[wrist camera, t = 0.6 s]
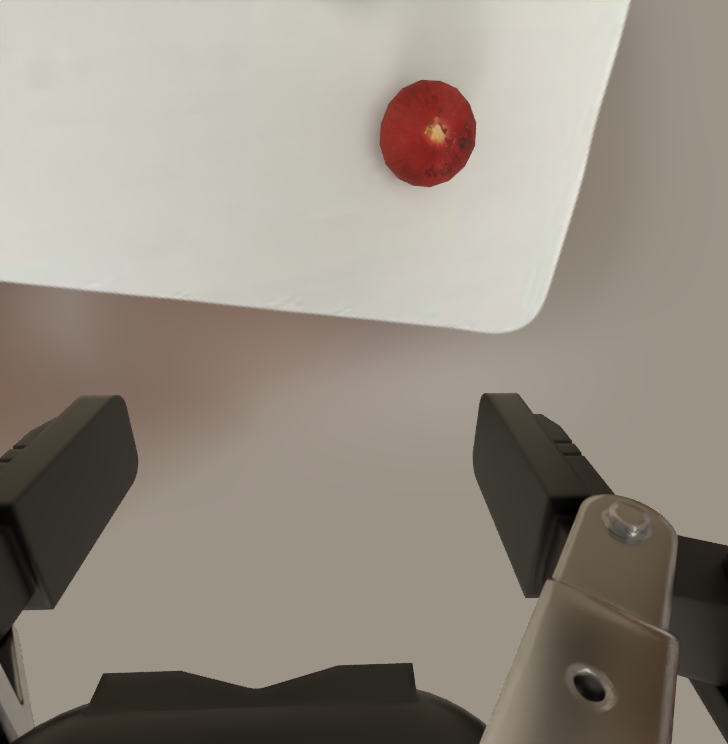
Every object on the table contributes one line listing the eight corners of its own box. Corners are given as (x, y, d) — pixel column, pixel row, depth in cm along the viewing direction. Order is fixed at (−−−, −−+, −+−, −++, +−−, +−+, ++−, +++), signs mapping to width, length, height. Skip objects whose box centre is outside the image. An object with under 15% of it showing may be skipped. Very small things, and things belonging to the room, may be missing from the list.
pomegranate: (475, 113, 31) (515, 100, 24) (437, 196, 34) (463, 208, 26) (397, 72, 30) (415, 46, 23) (362, 162, 32) (368, 163, 25)
